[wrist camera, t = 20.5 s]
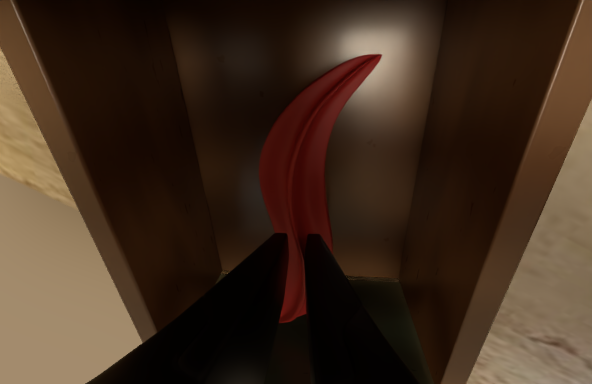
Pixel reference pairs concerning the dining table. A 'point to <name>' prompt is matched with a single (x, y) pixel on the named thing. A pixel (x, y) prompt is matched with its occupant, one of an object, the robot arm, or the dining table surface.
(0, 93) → the dining table surface
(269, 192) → the cayenne pepper
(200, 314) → the robot arm
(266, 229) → the drawer
